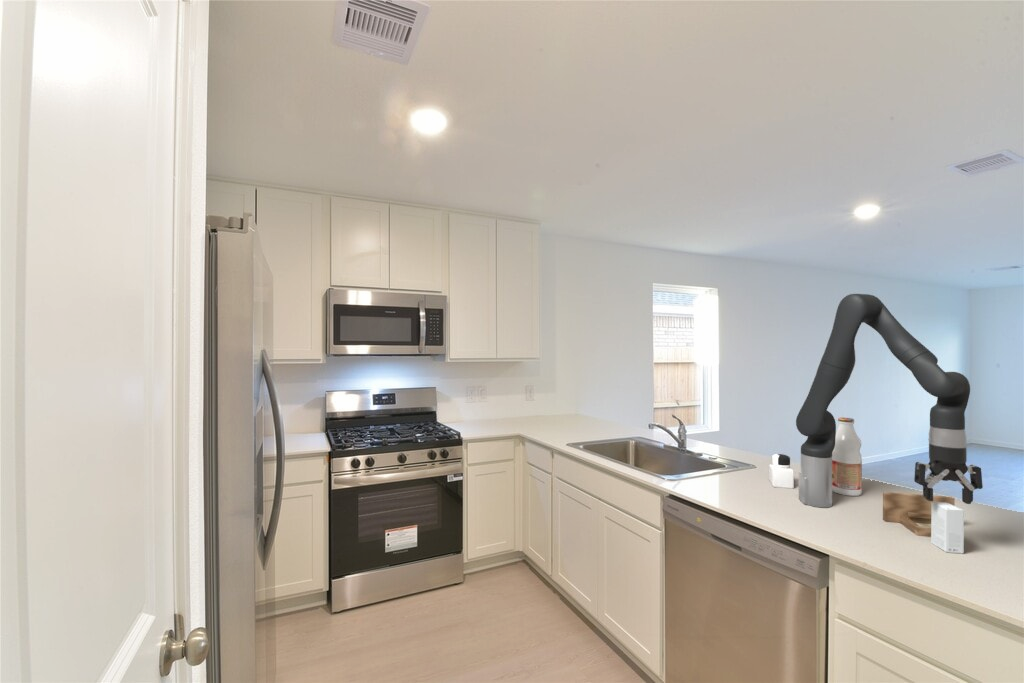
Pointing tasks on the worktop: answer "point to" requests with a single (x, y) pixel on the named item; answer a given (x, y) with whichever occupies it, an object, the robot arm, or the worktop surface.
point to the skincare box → (947, 527)
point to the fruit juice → (847, 460)
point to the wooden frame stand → (911, 511)
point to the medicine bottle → (781, 472)
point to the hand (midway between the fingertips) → (947, 501)
